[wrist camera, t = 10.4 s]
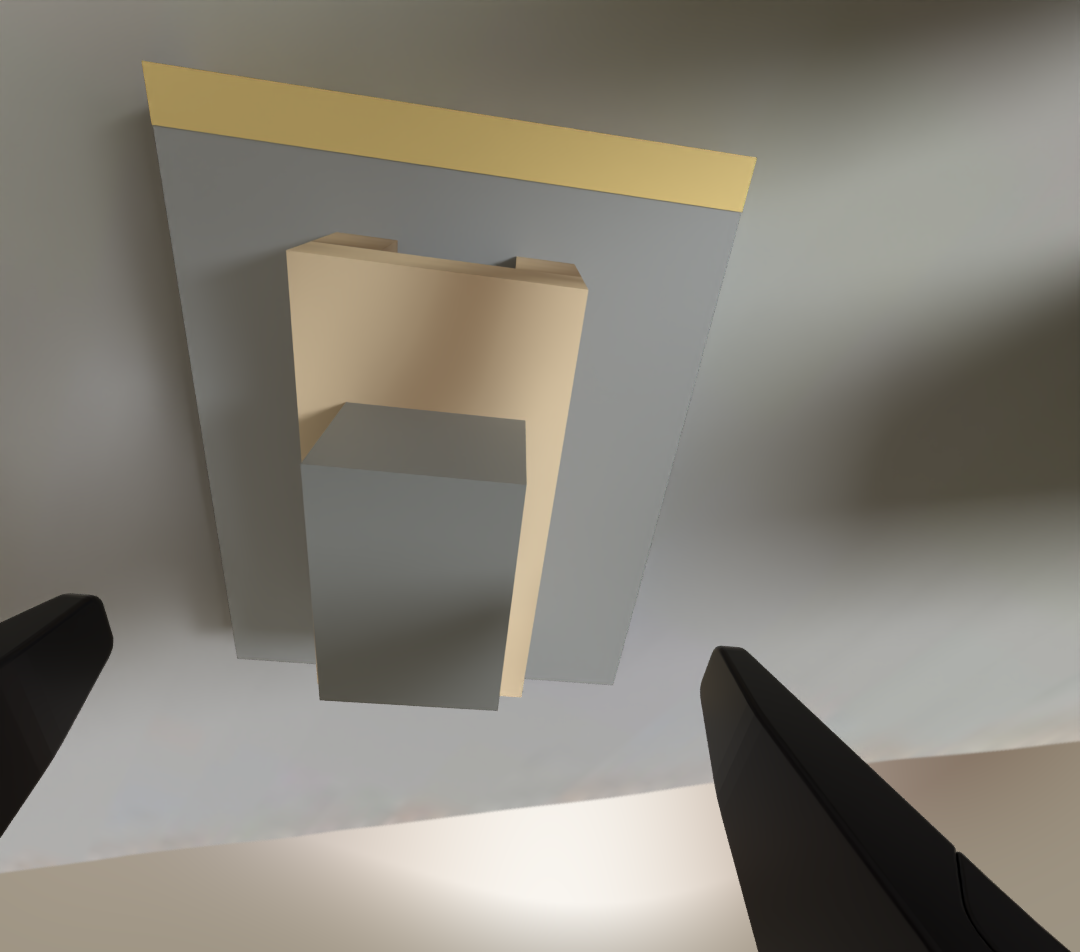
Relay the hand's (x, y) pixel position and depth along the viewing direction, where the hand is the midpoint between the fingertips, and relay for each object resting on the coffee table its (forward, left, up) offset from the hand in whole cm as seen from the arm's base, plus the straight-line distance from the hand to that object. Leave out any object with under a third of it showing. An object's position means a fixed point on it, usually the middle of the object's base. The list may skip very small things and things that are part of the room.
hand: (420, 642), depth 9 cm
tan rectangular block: (+1, +2, -9) cm, 9 cm away
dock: (+1, +2, -12) cm, 12 cm away
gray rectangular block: (+1, +2, -6) cm, 6 cm away
